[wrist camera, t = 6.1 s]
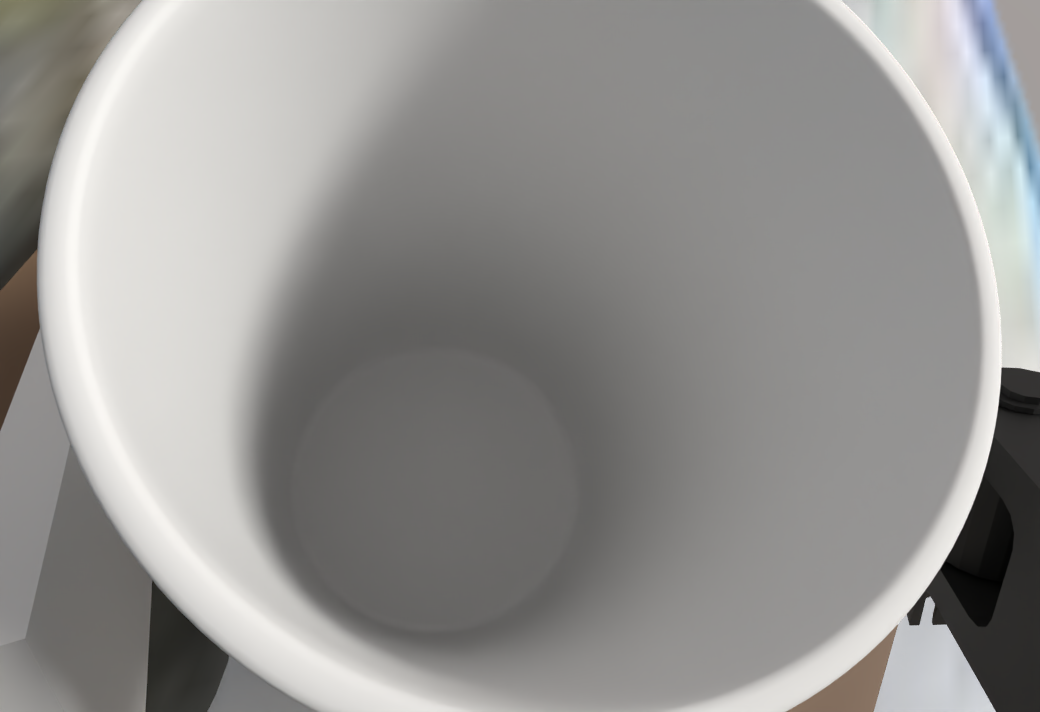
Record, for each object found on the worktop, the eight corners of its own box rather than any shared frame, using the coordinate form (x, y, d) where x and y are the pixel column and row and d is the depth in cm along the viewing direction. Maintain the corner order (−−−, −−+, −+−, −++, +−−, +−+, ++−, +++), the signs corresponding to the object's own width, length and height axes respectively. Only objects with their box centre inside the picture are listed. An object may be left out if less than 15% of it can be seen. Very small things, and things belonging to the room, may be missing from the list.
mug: (383, 286, 18) (409, -272, 7) (638, 435, 18) (1091, 126, 7) (86, 715, 14) (-951, 1067, 3) (406, 903, 14) (548, 1950, 3)
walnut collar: (-292, 778, 13) (-468, 819, 10) (283, 76, 19) (271, -17, 16) (606, 1255, 13) (672, 1421, 11) (880, 411, 20) (967, 376, 17)
